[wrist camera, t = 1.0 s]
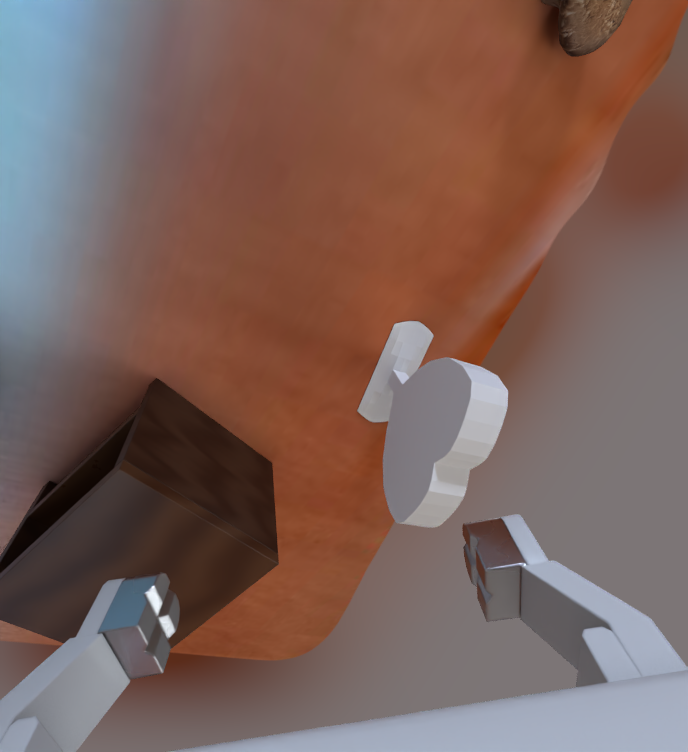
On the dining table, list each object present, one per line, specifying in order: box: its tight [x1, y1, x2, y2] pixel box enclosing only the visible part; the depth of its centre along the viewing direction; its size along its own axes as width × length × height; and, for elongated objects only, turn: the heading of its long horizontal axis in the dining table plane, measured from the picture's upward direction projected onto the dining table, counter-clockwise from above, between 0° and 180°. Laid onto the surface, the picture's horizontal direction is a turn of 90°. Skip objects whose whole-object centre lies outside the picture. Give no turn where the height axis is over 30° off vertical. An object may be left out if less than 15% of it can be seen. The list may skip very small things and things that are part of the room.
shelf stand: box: [0, 378, 279, 648], centre depth 45 cm, size 17×19×15 cm
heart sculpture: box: [357, 321, 508, 528], centre depth 44 cm, size 16×5×18 cm, turn 160°
